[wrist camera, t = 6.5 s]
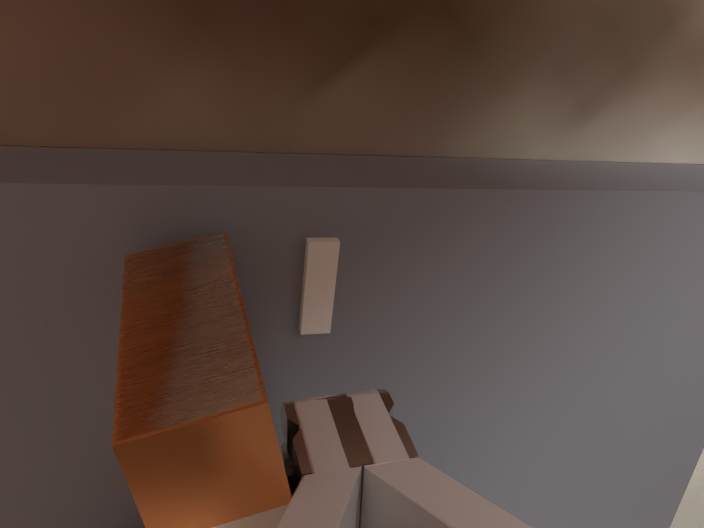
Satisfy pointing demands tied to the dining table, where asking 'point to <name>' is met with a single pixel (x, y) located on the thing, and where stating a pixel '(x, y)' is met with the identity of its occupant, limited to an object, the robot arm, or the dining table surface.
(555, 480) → the board
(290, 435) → the robot arm
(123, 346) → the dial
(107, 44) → the dining table surface
